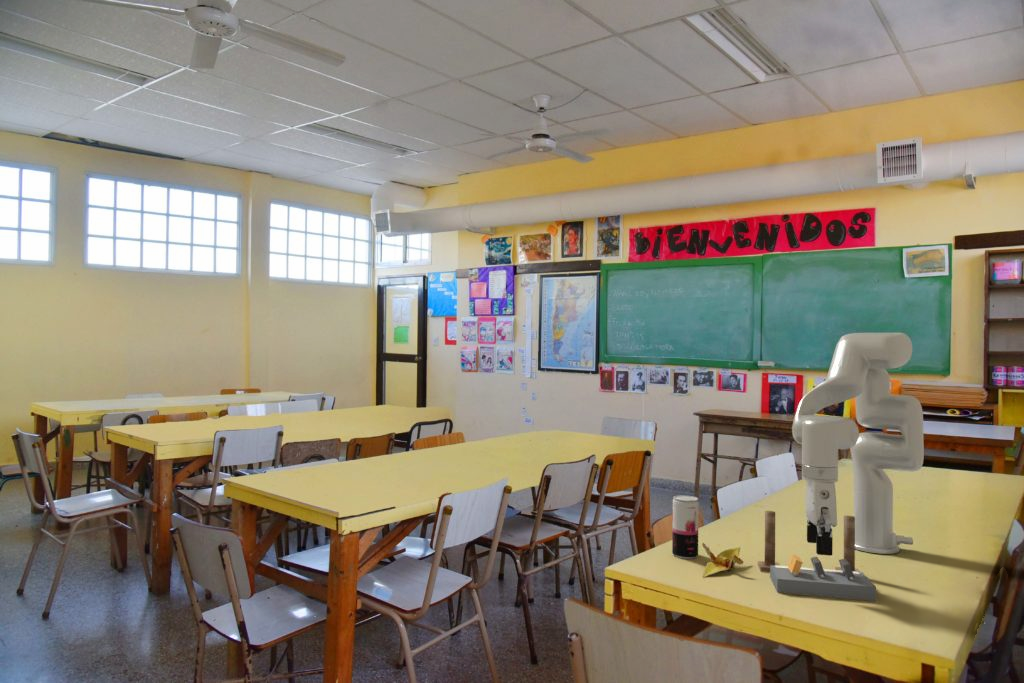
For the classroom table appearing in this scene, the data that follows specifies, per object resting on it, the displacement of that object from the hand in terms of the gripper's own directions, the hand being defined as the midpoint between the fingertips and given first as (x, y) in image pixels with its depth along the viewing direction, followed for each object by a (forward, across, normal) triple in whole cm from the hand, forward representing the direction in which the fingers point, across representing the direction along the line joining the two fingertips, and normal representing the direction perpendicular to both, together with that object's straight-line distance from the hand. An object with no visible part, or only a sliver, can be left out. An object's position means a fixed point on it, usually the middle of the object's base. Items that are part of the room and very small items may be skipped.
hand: (819, 548), depth 151 cm
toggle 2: (+6, -1, 0) cm, 6 cm away
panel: (+9, -1, 0) cm, 9 cm away
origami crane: (+9, +7, +20) cm, 23 cm away
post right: (+9, +11, -9) cm, 17 cm away
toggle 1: (+6, -1, +6) cm, 8 cm away
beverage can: (+9, +17, +29) cm, 35 cm away
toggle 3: (+6, -1, -6) cm, 8 cm away
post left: (+9, +11, +9) cm, 16 cm away
